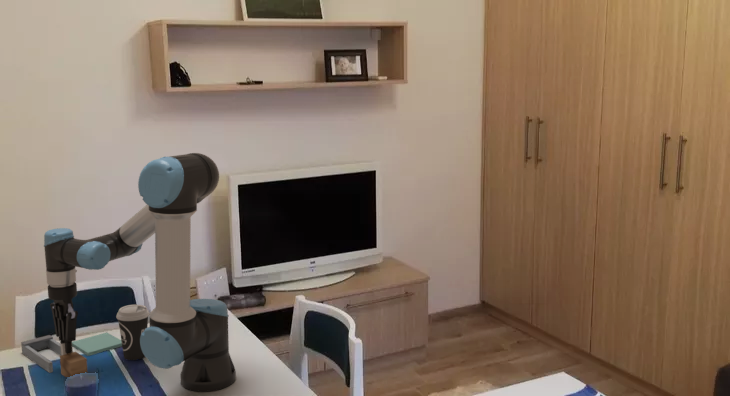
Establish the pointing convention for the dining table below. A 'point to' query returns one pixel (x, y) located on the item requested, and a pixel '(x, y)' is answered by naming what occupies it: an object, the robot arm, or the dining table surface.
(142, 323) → the coffee cup
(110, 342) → the teal coaster
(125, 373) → the dining table surface
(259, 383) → the dining table surface
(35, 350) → the grey channel
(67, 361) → the walnut block
